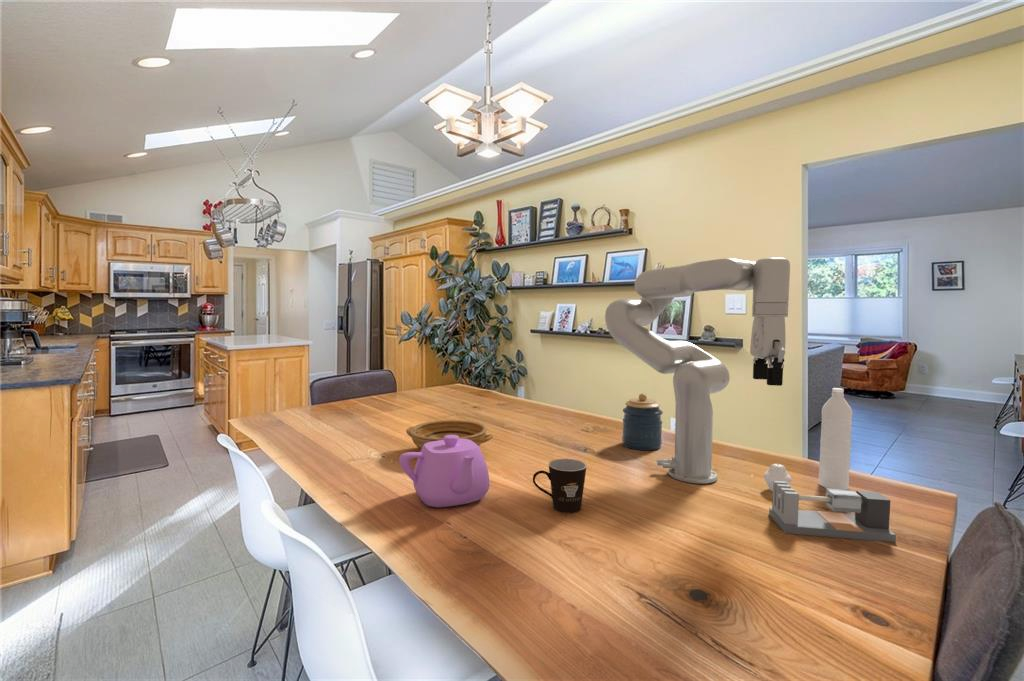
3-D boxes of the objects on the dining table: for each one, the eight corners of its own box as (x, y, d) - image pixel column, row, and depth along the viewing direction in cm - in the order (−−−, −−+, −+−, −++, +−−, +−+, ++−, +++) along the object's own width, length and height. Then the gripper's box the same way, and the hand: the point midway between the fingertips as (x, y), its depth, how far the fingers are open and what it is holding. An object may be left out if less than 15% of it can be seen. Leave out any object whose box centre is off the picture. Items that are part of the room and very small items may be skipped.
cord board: (784, 533, 96) (786, 494, 95) (769, 514, 104) (770, 479, 104) (895, 542, 92) (897, 502, 92) (869, 522, 101) (871, 485, 100)
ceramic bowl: (506, 447, 155) (506, 423, 154) (475, 471, 132) (475, 443, 132) (427, 439, 165) (427, 416, 164) (386, 459, 142) (386, 433, 142)
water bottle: (848, 493, 117) (853, 393, 115) (817, 487, 121) (822, 391, 119) (848, 482, 124) (853, 389, 123) (819, 477, 128) (823, 386, 126)
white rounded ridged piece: (767, 484, 123) (768, 458, 122) (794, 490, 118) (795, 463, 118) (759, 490, 118) (760, 463, 118) (786, 497, 114) (788, 469, 114)
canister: (667, 451, 152) (668, 397, 151) (626, 451, 152) (627, 397, 151) (655, 440, 165) (656, 390, 164) (618, 440, 165) (619, 390, 164)
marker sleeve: (833, 511, 96) (834, 494, 96) (825, 503, 100) (825, 488, 100) (860, 512, 95) (861, 496, 95) (851, 505, 99) (852, 490, 99)
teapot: (392, 493, 116) (392, 433, 115) (473, 480, 125) (473, 424, 124) (414, 532, 95) (413, 460, 94) (508, 514, 104) (508, 447, 103)
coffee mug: (588, 502, 110) (589, 461, 110) (582, 517, 102) (582, 473, 102) (541, 496, 114) (541, 455, 114) (531, 510, 106) (531, 466, 106)
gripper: (742, 310, 121) (739, 376, 122) (765, 310, 104) (762, 387, 105) (773, 310, 119) (770, 377, 120) (802, 310, 102) (799, 388, 103)
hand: (766, 382), depth 113 cm, fingers open, 9 cm apart
